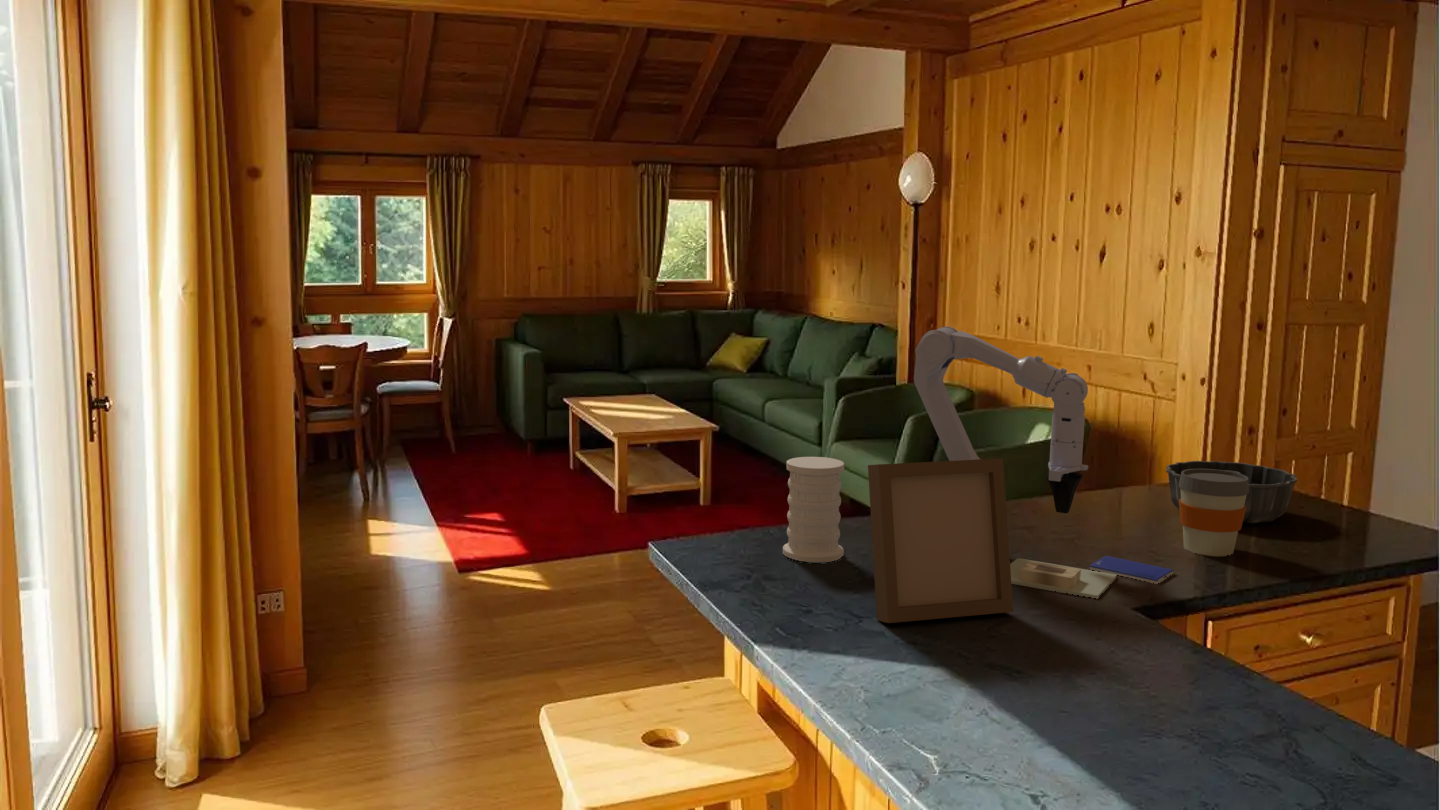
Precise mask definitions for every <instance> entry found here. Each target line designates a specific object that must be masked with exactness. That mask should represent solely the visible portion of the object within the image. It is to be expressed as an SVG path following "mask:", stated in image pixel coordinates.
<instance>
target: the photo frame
mask: <svg viewBox="0 0 1440 810" xmlns="http://www.w3.org/2000/svg"><path fill="white" fill-rule="evenodd" d="M1004 468H1005V466H1004V458H983V459H982V458H980V459H979V460H959V461H949V460H943V461H941V460H940V461H923V462H921V461H920V462H900V463H885V464H884V463H882V464H881V463H880V464H867V473H868V476H867V477H868V487H869V488H868V489H869V506H870V508H869V509H870V510H869V511H870V523H871V527H870V528H871V540H872V543H871V544H872V558H873V575H874V591H875V593H874V594H875V607H876V609H875V611H876V620H877V621H879V622H881V623H887V624H893V623H895V624H896V623H905V622H915V621H918V622H919V621H926V620H929V621H930V620H938V619H948V618H949V619H950V618H951V619H952V618H960V617H973V616H980V615H981V616H982V615H993V614H1005V613H1013V612H1014V606H1013V605H1014V602H1013V589H1012V585H1013V584H1011V570H1010V564H1011V561H1010V560H1011V558H1010V557H1011V555H1010V542H1009V530H1008V529H1009V528H1008V518H1007V517H1008V514H1007V501H1006V499H1007V497H1006V486H1005V485H1006V483H1005V482H1006V481H1005V471H1004V470H1005V469H1004Z"/></svg>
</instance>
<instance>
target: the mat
mask: <svg viewBox="0 0 1440 810" xmlns="http://www.w3.org/2000/svg"><path fill="white" fill-rule="evenodd" d="M1029 561H1034V562H1040V563H1046V564H1052V565H1058V566H1064V567H1070V568H1076V569H1081V576H1080V581H1079V582H1078V583H1077V584H1076V585H1075V586H1074V587H1073V588H1072V589H1067V588H1061V587H1055V586H1050V585H1044V584H1039V583H1033V582H1027V581H1022V580H1020V569H1021V568H1022V567H1023V566H1025V565H1026V564H1027V563H1028V562H1029ZM1010 570H1011V585H1018V586H1024V587H1028V588H1034V589H1039V590H1045V591H1050V592H1055V591H1056V593H1061V594H1066V593H1068V595H1072V594H1073V596H1077V595H1079V597H1083V596H1085V598H1088V597H1091V598H1090V599H1094V598H1096V599H1095V600H1098V599H1099V598H1100V597H1101V596H1102V595H1103V594H1104V593H1105V592H1106V590H1107V589H1108V588H1109V587H1110V586H1111V585H1112V583H1114V582H1115V580H1116V579H1117V578H1116V577H1118V576H1117V575H1116V574H1110V573H1104V572H1098V571H1092V570H1089V569H1086V568H1080V567H1072V566H1069V565H1068V566H1067V565H1062V564H1055V563H1049V562H1043V561H1037V560H1031V559H1025V558H1019V557H1018V558H1016V559H1015V560H1014V561H1012V562H1010ZM1110 584H1111V585H1110ZM1109 585H1110V586H1109ZM1102 593H1103V594H1102ZM1101 594H1102V595H1101ZM1100 595H1101V596H1100ZM1099 596H1100V597H1099Z"/></svg>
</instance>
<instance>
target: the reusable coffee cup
mask: <svg viewBox="0 0 1440 810" xmlns="http://www.w3.org/2000/svg"><path fill="white" fill-rule="evenodd" d="M1179 487H1180V489H1181V499H1179V509H1178V510H1179V524H1181V525H1182V534H1183V535H1182V539H1183V549H1184V550H1186V549H1187V550H1189V551H1188V552H1190V551H1191V553H1194V554H1196V553H1197V555H1201V556H1208V557H1228V556H1227V555H1229V556H1232V555H1233V554H1234V551H1235V547H1236V542H1237V537H1238V534H1239V531H1241V530H1242V526H1243V522H1244V521H1243V519H1244V514H1245V510H1246V506H1245V505H1244V504H1245V500H1246V495H1247V494H1248V493H1249V481H1248V477H1247V476H1245V475H1242V474H1239V473H1235V472H1230V471H1224V470H1216V469H1187V470H1183V471H1182V472H1181V476H1180V481H1179ZM1187 550H1186V551H1187ZM1231 554H1232V555H1231Z"/></svg>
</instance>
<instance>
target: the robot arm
mask: <svg viewBox="0 0 1440 810" xmlns="http://www.w3.org/2000/svg"><path fill="white" fill-rule="evenodd" d="M914 351H915V365H914V374H913V383H914V385H915V388H916V390H917V392H918V394H919V396H920V398H921V399H920V400H921V401H922V403H923V405H924V408H925V411H926V413H927V414H928V416H929V419H930V421H931V423H932V425H933V428H934V430H935V432H936V434H937V437H938V439H939V441H940V444H941V446H942V448H943V450H944V453H945V454H946V457H947V458H948V461H959V460H979V459H981V458H980V457H979V456H978V455H977V453H976V452H975V449H974V447H973V445H972V443H971V441H970V439H969V436H968V434H967V432H966V429H965V427H964V425H963V423H962V421H961V419H960V417H959V414H958V412H957V409H956V407H955V405H954V402H953V400H952V398H951V396H950V394H949V392H948V389H947V388H946V385H945V383H944V377H945V375H946V373H947V371H948V369H949V367H950V364H952V362H953V361H954V360H961V359H962V360H963V359H975V360H977V361H979V362H981V363H984V364H986V365H989V366H991V367H994V368H997V369H999V370H1001V371H1003V372H1006V373H1008V374H1011V375H1012V378H1013V380H1014V382H1015V384H1017V385H1018V386H1020V387H1022V388H1025V389H1027V390H1029V391H1031V392H1033V393H1035V394H1037V395H1040V396H1042V397H1045V398H1047V399H1048V398H1051V401H1052V402H1053V412H1052V416H1051V431H1050V433H1051V434H1050V445H1049V446H1050V448H1049V449H1050V450H1049V461H1048V462H1047V463H1048V464H1047V468H1048V473H1047V474H1046V480H1047V482H1048V484H1049V487H1050V488H1051V491H1052V492H1051V493H1052V496H1053V502H1054V503H1053V505H1054V507H1055V512H1056V513H1061V514H1069V513H1070V510H1071V507H1072V504H1073V499H1074V496H1075V493H1076V490H1077V489H1078V486H1079V485H1080V483H1081V480H1082V479H1083V477H1084V475H1083V473H1078V472H1079V471H1088V470H1089V465H1087V464H1083V453H1084V452H1083V451H1084V450H1083V449H1084V437H1085V422H1086V417H1085V412H1086V407H1085V402H1084V400H1085V399H1086V398H1087V396H1088V393H1089V388H1088V387H1089V386H1088V383H1087V382H1086V380H1085V379H1084V378H1083V377H1082V376H1080V375H1079V374H1078V373H1075V372H1070V373H1069V372H1068V370H1067V369H1066V368H1064V367H1062V368H1061V369H1059V368H1057V367H1055V366H1053V365H1051V364H1049V363H1046V362H1045V361H1043V360H1044V358H1043V357H1041V356H1039V355H1036V356H1034V357H1033V356H1031V355H1029V356H1025V357H1022V358H1020V357H1017V356H1015V355H1013V354H1011V353H1009V352H1007V351H1005V350H1003V349H1001V348H1000V347H997V346H996V345H993V344H991V343H990V342H987V341H985V340H983V339H981V338H979V337H978V336H976V335H973V334H971V333H969V332H965V331H962V330H957V329H956V328H954V327H951V326H942V327H939V328H938V329H933V330H929V331H927V332H926V333H925V334H923V335H922V337H921V339H920V341H918V344H917V346H916V347H915V350H914ZM1067 372H1068V373H1067Z"/></svg>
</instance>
